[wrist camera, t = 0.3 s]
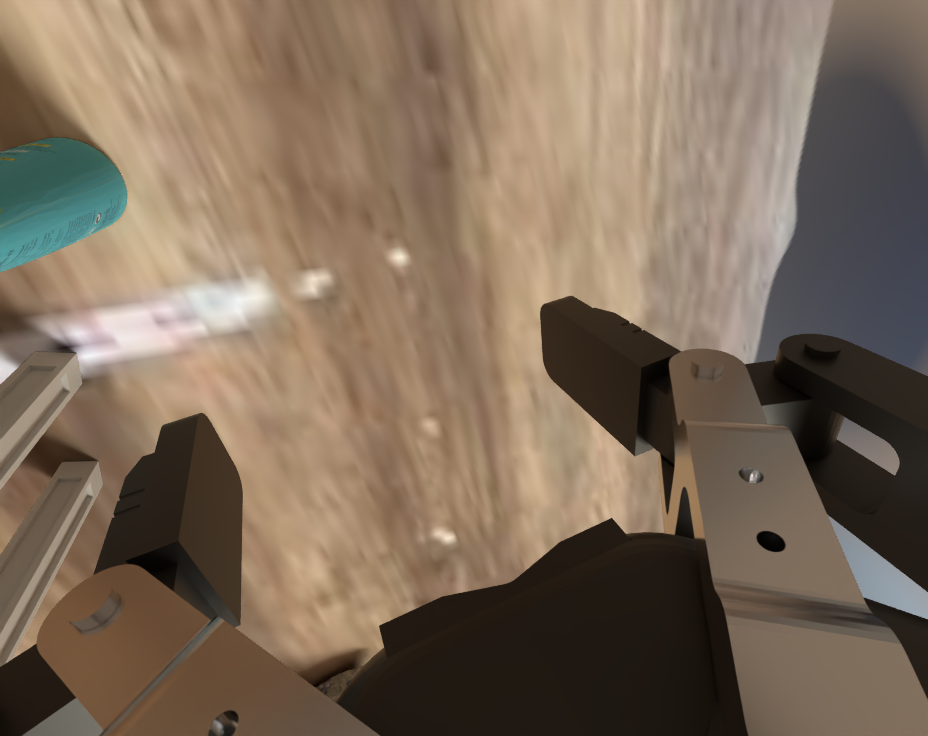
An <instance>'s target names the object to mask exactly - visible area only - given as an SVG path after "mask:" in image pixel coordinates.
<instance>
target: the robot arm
mask: <svg viewBox="0 0 928 736" xmlns="http://www.w3.org/2000/svg"><path fill="white" fill-rule="evenodd" d="M540 320H541V336H542V352H543V362H544V366H545V368H546V371H547V373H548V375H549V376H550V378H551V379H552V380H553V381H554V382H555V383H556V384H557V385H558V386H559V387H560V388H561V389H562V390H563V391H564V392H566V393H567V394H568V395H569V396H570V397H571V398H572V399H573V400H574V401H575V402H576V403H578V404H579V405H580V406H581V407H582V408H583V409H584V410H585V411H586V412H587V413H588V414H589V415H591V416H592V417H593V418H594V419H595V420H596V421H597V422H598V423H599V424H600V425H601V426H602V427H604V428H605V429H606V430H607V431H608V432H609V433H610V434H611V435H612V436H613V437H614V438H615V439H617V440H618V441H619V442H620V443H621V444H622V445H623V446H624V447H625V448H626V449H627V450H628V451H630V452H631V453H632V454H633V455H634V456H637V455H639V454H642V453H644V452H646V451H649V450H651V449H653V448H655V449H656V450H657V451H658V452H659V458H658V470H659V481H660V492H661V504H662V515H663V526H664V533H652V532H642V533H630V534H625V533H624V531H623V530H622V529H621V528H620V527H619V526H618V525H617V523H616V522H615V521H614V520H613V519H612V518H611V519H609V520H607V521H604V522H602V523H600V524H598V525H596V526H594V527H591V528H589V529H587V530H585V531H583V532H581V533H578V534H576V535H574V536H572V537H570V538H568V539H566V540H563V541H561V542H560V543H558V544H557V545H556V546H555V547H554V548H552V549H551V550H550V551H549V552H548V553H546V554H545V555H544V556H543V557H542V558H540V559H539V560H538V561H537V562H536V563H534V564H533V565H532V566H531V567H530V568H528V569H527V570H526V571H525V572H524V573H522V574H521V575H520V576H519V577H518V578H516V579H515V580H514V581H512V582H510V583H507V584H503V585H498V586H493V587H488V588H483V589H478V590H473V591H468V592H463V593H458V594H453V595H448V596H443V597H440V598H438V599H436V600H434V601H432V602H430V603H427V604H425V605H423V606H421V607H419V608H417V609H414V610H412V611H410V612H408V613H406V614H404V615H402V616H399V617H397V618H395V619H393V620H391V621H389V622H386V623H384V624H382V625H380V626H379V628H380V632H381V636H382V640H383V644H384V648H383V649H382V650H381V651H379V652H378V653H377V654H376V655H375V656H373V657H372V658H371V659H370V660H369V661H368V662H367V663H366V664H365V665H364V666H363V667H362V668H361V669H360V671H359V672H358V673H357V674H356V675H355V677H354V678H353V679H352V680H351V682H350V683H349V684H348V685H347V687H346V688H345V690H344V691H343V693H342V694H341V696H340V697H339V699H338V700H337V702H336V703H335V702H334V701H333V700H331V699H330V698H329V697H327V696H326V695H325V694H323V693H322V692H321V691H319V690H318V689H317V688H315V687H314V686H312V685H311V684H310V683H308V682H307V681H306V680H304V679H303V678H302V677H300V676H299V675H298V674H296V673H295V672H294V671H292V670H291V669H290V668H288V667H287V666H286V665H284V664H283V663H282V662H280V661H279V660H278V659H276V658H275V657H273V656H272V655H271V654H269V653H268V652H267V651H265V650H264V649H263V648H261V647H260V646H259V645H257V644H256V643H255V642H253V641H252V640H251V639H249V638H248V637H247V636H245V635H244V634H243V633H241V632H240V631H238V630H237V629H236V628H234V627H236V626H239V625H240V618H241V561H242V504H243V491H242V484H241V480H240V477H239V474H238V471H237V469H236V467H235V465H234V463H233V461H232V459H231V457H230V456H229V454H228V452H227V450H226V449H225V447H224V445H223V443H222V441H221V440H220V438H219V436H218V434H217V433H216V431H215V429H214V427H213V425H212V424H211V422H210V420H209V419H208V417H207V416H206V415H205V414H203V413H199V414H196V415H193V416H190V417H186V418H183V419H180V420H177V421H174V422H171V423H168V424H165V425H163V426H162V428H161V431H160V434H159V438H158V442H157V445H156V449H155V453H152V454H149V455H146V456H143V457H142V458H141V459H140V460H139V461H138V463H137V464H136V465H135V466H134V468H133V469H132V470H131V471H130V473H129V474H128V475H127V476H126V477H125V480H124V483H123V486H122V489H121V493H120V496H119V498H120V501H118V502H117V505H116V508H115V511H114V518H112V520H111V523H110V526H109V529H108V532H107V535H106V538H105V541H104V544H103V547H102V550H101V553H100V556H99V559H98V562H97V565H96V568H95V571H94V574H93V576H91V577H89V578H88V579H86V580H84V581H83V582H81V583H80V584H79V585H77V586H76V587H75V588H73V589H72V590H71V591H70V592H69V593H67V594H66V595H65V596H64V597H63V598H62V599H61V600H60V601H59V602H58V603H57V604H56V605H55V607H54V608H53V609H52V610H51V611H50V613H49V614H48V616H47V617H46V618H45V620H44V622H43V624H42V626H41V628H40V630H39V633H38V636H37V644H35V645H34V646H32V647H31V648H29V649H28V650H26V651H25V652H23V653H21V654H20V655H18V656H17V657H15V658H13V659H12V660H10V661H9V662H7V663H5V664H4V665H2V666H1V667H0V736H928V619H925V618H922V617H919V616H916V615H913V614H910V613H907V612H905V611H902V610H898V609H896V608H893V607H890V606H887V605H884V604H881V603H878V602H875V601H873V600H870V599H867V598H864V597H863V596H862V594H861V591H860V589H859V587H858V584H857V583H856V580H855V578H854V575H853V573H852V571H851V568H850V566H849V564H848V562H847V559H846V557H845V555H844V552H843V550H842V548H841V545H840V543H839V541H838V539H837V536H836V534H835V532H834V530H833V527H832V525H831V522H830V520H829V518H828V516H827V514H828V515H829V516H830V517H832V518H833V519H834V520H835V521H837V522H838V523H839V524H840V525H842V526H843V527H844V528H846V529H847V530H848V531H850V532H851V533H852V534H854V535H855V536H856V537H857V538H859V539H860V540H861V541H862V542H864V543H865V544H866V545H868V546H869V547H870V548H871V549H873V550H874V551H875V552H877V553H878V554H879V555H881V556H882V557H883V558H884V559H886V560H887V561H888V562H890V563H891V564H892V565H893V566H895V567H896V568H897V569H899V570H900V571H901V572H903V573H904V574H906V576H908V577H909V578H910V579H912V580H913V581H914V582H915V583H917V584H918V585H919V586H921V587H922V588H923V589H925V590H926V591H927V592H928V376H926V375H923V374H921V373H919V372H917V371H914V370H912V369H910V368H908V367H905V366H903V365H900V364H898V363H896V362H894V361H892V360H889V359H887V358H885V357H882V356H880V355H878V354H876V353H873V352H871V351H869V350H866V349H864V348H862V347H860V346H857V345H855V344H853V343H850V342H848V341H846V340H843V339H839V338H836V337H832V336H827V335H820V334H800V335H794V336H790V337H788V338H786V339H784V340H783V341H782V342H781V343H780V345H779V349H778V353H777V357H776V360H774V361H766V362H759V363H751V364H744V363H743V362H742V361H741V360H739V359H738V358H736V357H735V356H733V355H730V354H728V353H725V352H722V351H718V350H712V349H690V350H685V351H682V352H681V351H679V350H678V349H676V348H674V347H672V346H671V345H669V344H667V343H666V342H664V341H662V340H660V339H659V338H657V337H655V336H653V335H652V334H650V333H648V332H647V331H645V330H643V331H642V330H641V328H640V327H638V326H636V325H635V324H633V323H631V324H630V323H629V321H628V320H626V319H624V318H622V317H621V316H619V315H617V314H616V313H613V312H609V311H605V310H601V309H598V308H592V307H590V306H589V305H587V304H585V303H584V302H582V301H580V300H579V299H577V298H575V297H573V296H568V297H565V298H562V299H558V300H555V301H552V302H549V303H546V304H544V305H543V306H542V307H541V311H540ZM844 417H846V418H848V419H849V420H851V421H853V422H854V423H856V424H858V425H860V426H861V427H863V428H865V429H867V430H868V431H870V432H872V433H873V434H875V435H877V436H879V437H880V438H882V439H884V440H885V441H887V442H888V443H889V444H890V445H891V446H892V447H893V448H894V449H895V451H896V452H897V454H898V457H899V461H900V465H899V469H898V471H897V473H896V475H895V476H894V475H893V474H891V473H889V472H888V471H886V470H885V469H883V468H881V467H880V466H878V465H877V464H875V463H874V462H872V461H870V460H869V459H867V458H865V457H864V456H862V455H861V454H859V453H858V452H856V451H854V450H853V449H851V448H850V447H848V446H846V445H845V444H843V443H841V442H840V441H838V440H837V436H838V433H839V431H840V428H841V425H842V423H843V420H844Z"/></svg>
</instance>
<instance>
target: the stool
mask: <svg viewBox="0 0 928 736" xmlns="http://www.w3.org/2000/svg"><path fill="white" fill-rule="evenodd" d="M81 385H82V379H81V374H80V369H79V363H78V358H77V353H58V352H34V353H33V354H32V355H31V356H30V357H29V358H28V359H27V360H26V361H25V362H24V363H23V364H21V365H20V366H19V367H18V368H17V369H16V370H15V371H14V372H13V373H12V374H11V375H10V376H9V377H8V378H7V379H6V380H5V381H4V382H3V383H2V384H1V385H0V490H1V488H2V487H3V486H4V484H5V483H6V482H7V481H8V479H9V478H10V477H11V475H12V474H13V473H14V471H15V470H16V469H17V468H18V466H19V465H20V464H21V462H22V461H23V460H24V458H25V457H26V456H27V455H28V453H29V452H30V451H31V449H32V448H33V447H34V446H35V444H36V443H37V442H38V440H39V439H40V438H41V436H42V435H43V434H44V433H45V431H46V430H47V429H48V427H49V426H50V425H51V423H52V422H53V421H54V420H55V418H56V417H57V416H58V414H59V413H60V412H61V410H62V409H63V408H64V407H65V405H66V404H67V403H68V401H69V400H70V399H71V398H72V396H73V395H74V394H75V392H76V391H77V390H78V388H79V387H80V386H81ZM102 485H103V482H102V477H101V472H100V467H99V462H98V461H78V462H62V463H61V465H60V466H59V468H58V469H57V471H56V472H55V474H54V475H53V477H52V478H51V480H50V481H49V483H48V484H47V486H46V487H45V489H44V490H43V492H42V493H41V495H40V496H39V498H38V499H37V501H36V502H35V504H34V505H33V507H32V508H31V510H30V511H29V513H28V514H27V516H26V517H25V519H24V520H23V522H22V523H21V525H20V526H19V528H18V529H17V531H16V532H15V534H14V536H13V537H12V539H11V540H10V542H9V543H8V545H7V546H6V548H5V549H4V551H3V552H2V554H1V555H0V667H1V666H2V665H4V664H5V663H7V662H9V661H10V660H12V658H13V656H14V654H15V652H16V651H17V649H18V647H19V645H20V643H21V641H22V639H23V637H24V635H25V633H26V631H27V629H28V628H29V626H30V624H31V622H32V620H33V618H34V616H35V614H36V612H37V610H38V608H39V606H40V604H41V603H42V601H43V599H44V597H45V595H46V593H47V591H48V589H49V587H50V585H51V583H52V581H53V580H54V578H55V576H56V574H57V572H58V570H59V568H60V566H61V564H62V562H63V560H64V558H65V556H66V555H67V553H68V551H69V549H70V547H71V545H72V543H73V541H74V539H75V537H76V535H77V533H78V532H79V530H80V528H81V526H82V524H83V522H84V520H85V518H86V516H87V514H88V512H89V510H90V508H91V507H92V505H93V503H94V501H95V499H96V497H97V495H98V493H99V491H100V489H101V487H102Z"/></svg>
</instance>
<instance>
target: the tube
mask: <svg viewBox="0 0 928 736" xmlns="http://www.w3.org/2000/svg"><path fill="white" fill-rule="evenodd" d="M126 205H127V189H126V185H125V182H124V180H123V178H122V175H121V173H120V172H119V171H118V169H117V168H116V166H115V165H114V164H113V163H112V162H111V161H110V160H109V159H108V158H107V157H106V156H105V155H104V154H102V153H101V152H100V151H98V150H97V149H95V148H93V147H92V146H90V145H88V144H86V143H83V142H80V141H77V140H74V139H69V138H59V137H56V138H47V139H42V140H39V141H35V142H31V143H28V144H25V145H21V146H18V147H14V148H11V149H8V150H4V151H1V152H0V272H2V271H5V270H8V269H11V268H14V267H17V266H19V265H22V264H24V263H27V262H30V261H32V260H35V259H37V258H40V257H42V256H45V255H47V254H50V253H52V252H54V251H57V250H59V249H61V248H64V247H66V246H68V245H70V244H73V243H75V242H77V241H79V240H81V239H83V238H86V237H88V236H90V235H92V234H94V233H96V232H98V231H100V230H102V229H104V228H106V227H108V226H110V225H111V224H113V223H114V222H116V221H117V220H118V219H119V218H120V217H121V216H122V214H123V212H124V210H125V208H126Z"/></svg>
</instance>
